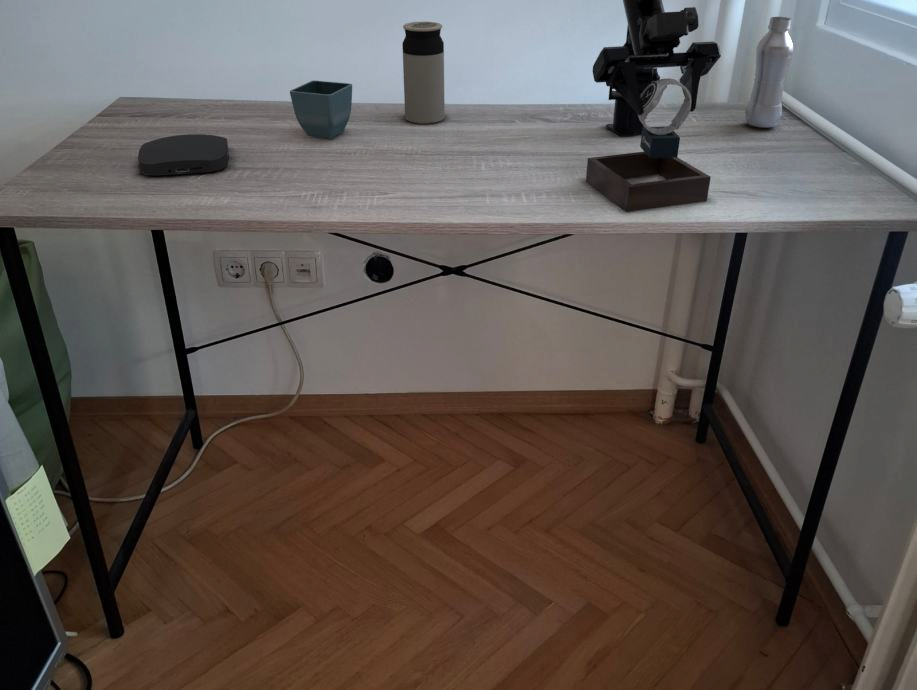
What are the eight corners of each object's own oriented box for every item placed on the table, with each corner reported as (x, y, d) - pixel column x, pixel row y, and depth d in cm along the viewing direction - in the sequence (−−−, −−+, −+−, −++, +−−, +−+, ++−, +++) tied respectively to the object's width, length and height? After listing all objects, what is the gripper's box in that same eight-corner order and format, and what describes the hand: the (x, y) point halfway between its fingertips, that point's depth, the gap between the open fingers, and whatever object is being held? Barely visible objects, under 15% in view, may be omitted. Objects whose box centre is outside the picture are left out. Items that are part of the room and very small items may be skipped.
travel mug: (452, 117, 168) (451, 23, 159) (430, 127, 163) (428, 30, 153) (419, 111, 172) (417, 19, 163) (397, 120, 166) (393, 26, 157)
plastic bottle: (780, 132, 159) (803, 22, 149) (744, 130, 160) (763, 21, 150) (776, 122, 165) (797, 15, 154) (741, 120, 166) (760, 14, 155)
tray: (585, 181, 136) (587, 157, 134) (660, 172, 140) (663, 149, 138) (626, 212, 125) (629, 186, 123) (706, 201, 129) (710, 176, 127)
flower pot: (293, 138, 156) (287, 90, 152) (317, 125, 163) (312, 79, 159) (334, 144, 154) (330, 95, 149) (356, 130, 161) (353, 83, 156)
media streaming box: (147, 151, 150) (143, 135, 148) (230, 146, 152) (227, 130, 151) (137, 179, 138) (133, 161, 136) (228, 173, 140) (225, 155, 139)
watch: (628, 146, 132) (635, 76, 126) (677, 145, 132) (687, 75, 126) (637, 158, 127) (645, 86, 121) (688, 157, 128) (699, 84, 122)
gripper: (605, -11, 119) (626, 87, 116) (725, -16, 122) (749, 79, 119) (583, 35, 130) (602, 126, 126) (694, 29, 133) (715, 118, 130)
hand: (667, 112), depth 125 cm, fingers closed on watch, 8 cm apart
